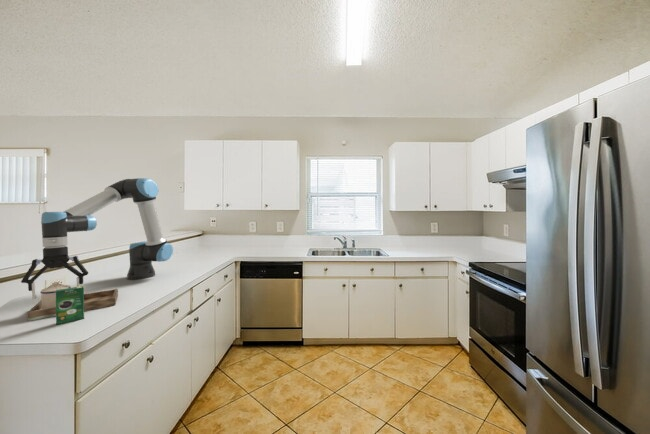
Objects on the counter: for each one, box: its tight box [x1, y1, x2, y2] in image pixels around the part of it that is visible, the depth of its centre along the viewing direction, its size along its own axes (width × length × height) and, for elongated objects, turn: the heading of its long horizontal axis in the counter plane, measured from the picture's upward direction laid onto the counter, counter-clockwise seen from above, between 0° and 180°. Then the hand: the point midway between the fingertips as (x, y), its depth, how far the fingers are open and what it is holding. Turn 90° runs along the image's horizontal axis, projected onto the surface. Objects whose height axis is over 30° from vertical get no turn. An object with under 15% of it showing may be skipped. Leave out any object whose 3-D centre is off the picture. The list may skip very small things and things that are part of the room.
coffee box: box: [55, 285, 85, 325], centre depth 101 cm, size 8×3×13 cm, turn 136°
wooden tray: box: [26, 288, 119, 322], centre depth 116 cm, size 27×17×4 cm, turn 126°
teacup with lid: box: [40, 281, 72, 309], centre depth 113 cm, size 12×9×12 cm
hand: (57, 294), depth 112 cm, fingers open, 13 cm apart
